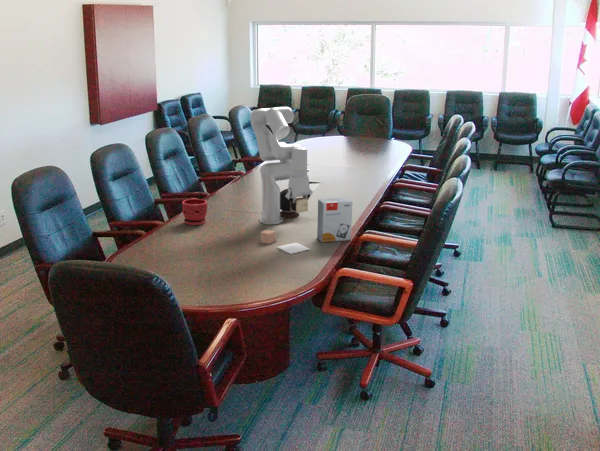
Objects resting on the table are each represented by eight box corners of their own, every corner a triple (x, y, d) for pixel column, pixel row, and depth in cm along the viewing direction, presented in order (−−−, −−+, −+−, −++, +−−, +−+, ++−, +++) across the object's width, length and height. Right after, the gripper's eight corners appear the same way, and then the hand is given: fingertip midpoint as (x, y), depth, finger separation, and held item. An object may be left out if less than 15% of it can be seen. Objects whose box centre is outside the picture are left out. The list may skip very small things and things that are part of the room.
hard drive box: (321, 242, 318) (321, 203, 312) (316, 237, 325) (317, 199, 319) (351, 240, 322) (352, 201, 316) (346, 235, 329) (347, 197, 323)
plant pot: (205, 226, 342) (205, 204, 338) (180, 226, 342) (179, 204, 338) (209, 219, 354) (208, 198, 350) (185, 219, 354) (184, 197, 351)
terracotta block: (260, 241, 320) (260, 232, 318) (267, 239, 323) (267, 229, 322) (268, 243, 317) (268, 234, 315) (275, 241, 320) (275, 231, 319)
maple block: (290, 210, 319) (290, 198, 317) (300, 208, 323) (300, 196, 321) (297, 213, 315) (297, 201, 313) (307, 211, 318) (307, 199, 316)
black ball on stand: (273, 213, 365) (273, 187, 361) (294, 210, 370) (295, 185, 366) (282, 220, 354) (282, 193, 349) (304, 217, 359) (305, 190, 355)
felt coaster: (277, 247, 311) (277, 246, 311) (296, 243, 317) (296, 242, 317) (290, 254, 302) (290, 253, 302) (309, 250, 308) (309, 248, 308)
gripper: (309, 169, 321) (308, 204, 326) (279, 173, 311) (280, 210, 317) (318, 172, 315) (318, 208, 320) (288, 176, 305) (288, 213, 311)
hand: (299, 208), depth 318 cm, fingers closed on maple block, 6 cm apart
